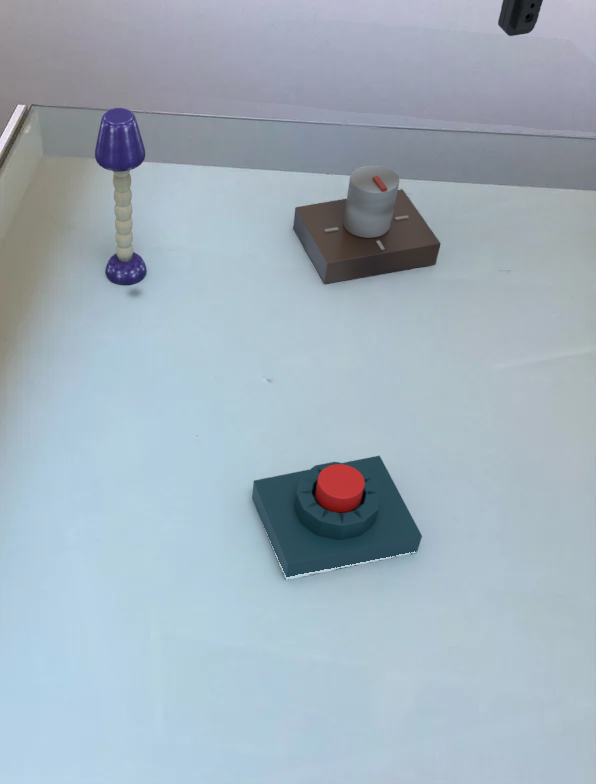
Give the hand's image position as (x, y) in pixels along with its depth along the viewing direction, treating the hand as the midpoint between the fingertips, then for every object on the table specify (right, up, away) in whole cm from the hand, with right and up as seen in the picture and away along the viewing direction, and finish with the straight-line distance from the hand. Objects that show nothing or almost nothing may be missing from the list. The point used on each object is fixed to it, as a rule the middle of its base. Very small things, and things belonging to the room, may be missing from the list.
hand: (514, 29), depth 71 cm
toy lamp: (-29, -9, +28) cm, 42 cm away
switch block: (-12, -36, +8) cm, 39 cm away
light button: (-12, -34, +5) cm, 36 cm away
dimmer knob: (-5, -3, +28) cm, 28 cm away
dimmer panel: (-4, -5, +30) cm, 30 cm away
